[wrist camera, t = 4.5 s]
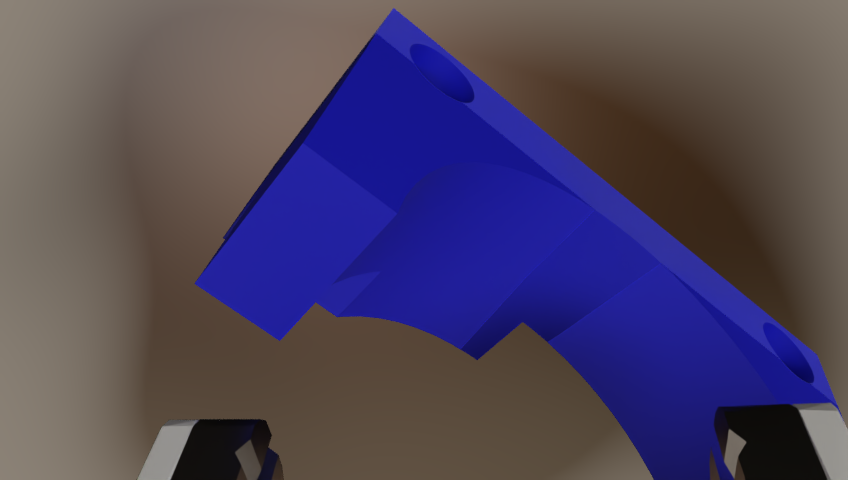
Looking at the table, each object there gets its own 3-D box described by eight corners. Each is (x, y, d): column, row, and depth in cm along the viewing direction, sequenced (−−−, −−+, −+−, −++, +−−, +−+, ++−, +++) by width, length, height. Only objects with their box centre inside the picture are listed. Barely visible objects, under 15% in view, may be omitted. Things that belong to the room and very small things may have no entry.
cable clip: (273, 165, 17) (150, 340, 12) (393, 8, 15) (302, 143, 10) (664, 450, 20) (696, 690, 15) (816, 354, 17) (916, 600, 12)
